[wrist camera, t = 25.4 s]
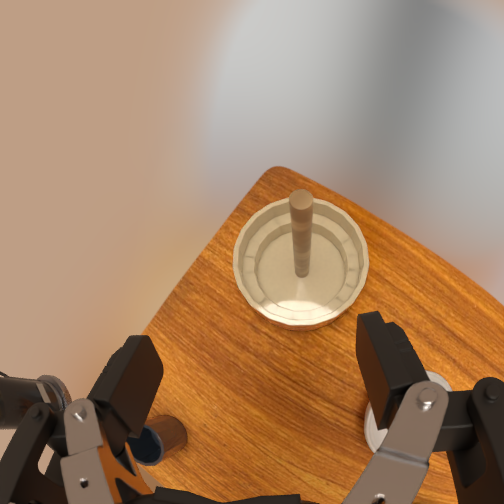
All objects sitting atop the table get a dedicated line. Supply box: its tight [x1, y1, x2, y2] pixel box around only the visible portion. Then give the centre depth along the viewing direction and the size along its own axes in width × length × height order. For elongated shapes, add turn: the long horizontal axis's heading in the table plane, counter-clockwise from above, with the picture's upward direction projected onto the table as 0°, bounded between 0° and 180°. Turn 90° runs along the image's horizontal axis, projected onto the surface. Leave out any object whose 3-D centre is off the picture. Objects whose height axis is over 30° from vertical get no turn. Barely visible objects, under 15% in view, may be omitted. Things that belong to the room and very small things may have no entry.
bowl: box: [233, 198, 369, 331], centre depth 33 cm, size 15×15×6 cm
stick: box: [289, 189, 313, 278], centre depth 28 cm, size 2×2×17 cm
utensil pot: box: [126, 415, 187, 466], centre depth 27 cm, size 6×6×7 cm
